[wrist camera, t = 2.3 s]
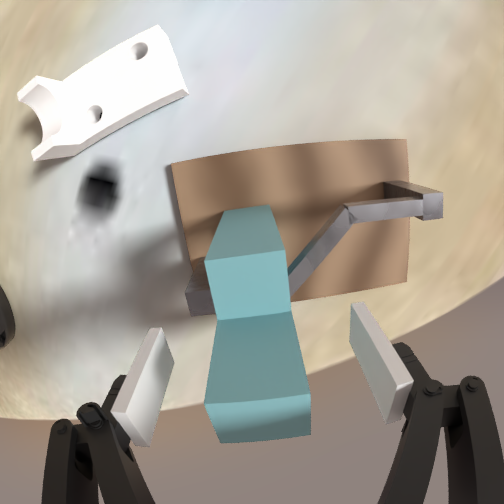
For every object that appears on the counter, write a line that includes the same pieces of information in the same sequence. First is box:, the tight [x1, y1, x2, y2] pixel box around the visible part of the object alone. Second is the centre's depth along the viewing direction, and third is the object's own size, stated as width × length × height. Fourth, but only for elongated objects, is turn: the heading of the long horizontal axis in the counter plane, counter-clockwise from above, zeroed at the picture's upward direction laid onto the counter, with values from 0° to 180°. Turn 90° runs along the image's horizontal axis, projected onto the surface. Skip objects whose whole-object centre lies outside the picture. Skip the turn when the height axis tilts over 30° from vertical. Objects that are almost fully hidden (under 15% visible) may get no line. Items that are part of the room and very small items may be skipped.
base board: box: [171, 139, 410, 302], centre depth 27 cm, size 22×15×1 cm
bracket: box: [17, 25, 189, 161], centre depth 19 cm, size 13×7×8 cm, turn 110°
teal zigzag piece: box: [204, 205, 311, 443], centre depth 19 cm, size 4×10×18 cm, turn 8°
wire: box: [185, 180, 443, 316], centre depth 23 cm, size 21×4×7 cm, turn 118°
